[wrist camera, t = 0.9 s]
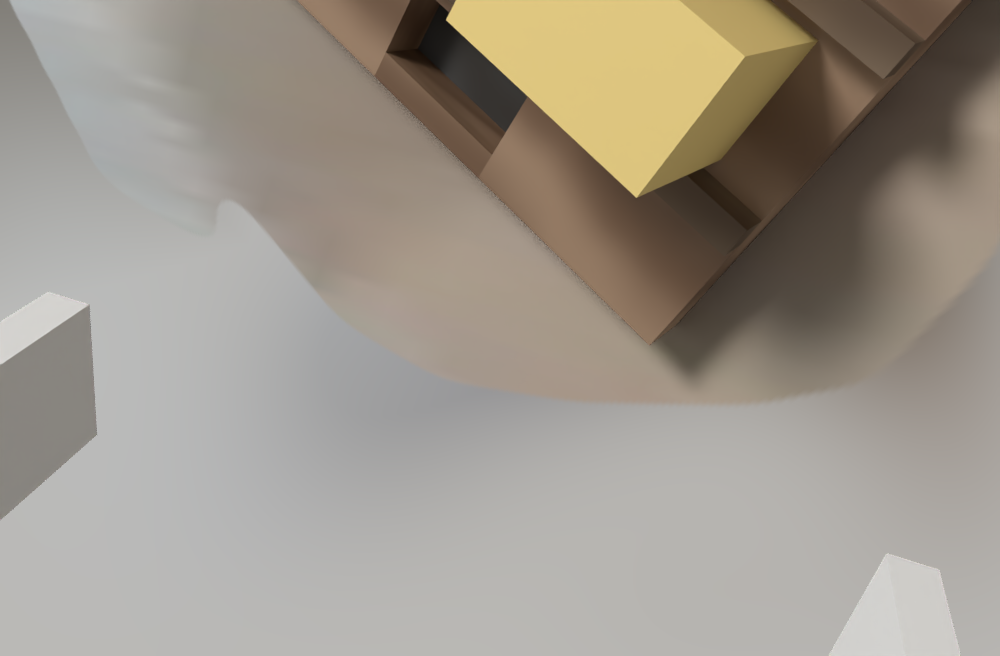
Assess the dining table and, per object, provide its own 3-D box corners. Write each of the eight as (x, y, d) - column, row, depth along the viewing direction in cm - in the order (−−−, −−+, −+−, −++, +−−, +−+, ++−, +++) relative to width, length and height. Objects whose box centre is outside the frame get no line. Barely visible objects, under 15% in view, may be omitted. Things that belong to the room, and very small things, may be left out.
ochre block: (630, -116, 36) (523, -133, 30) (818, 40, 34) (744, 56, 28) (555, 11, 40) (445, 19, 33) (720, 159, 37) (636, 197, 31)
